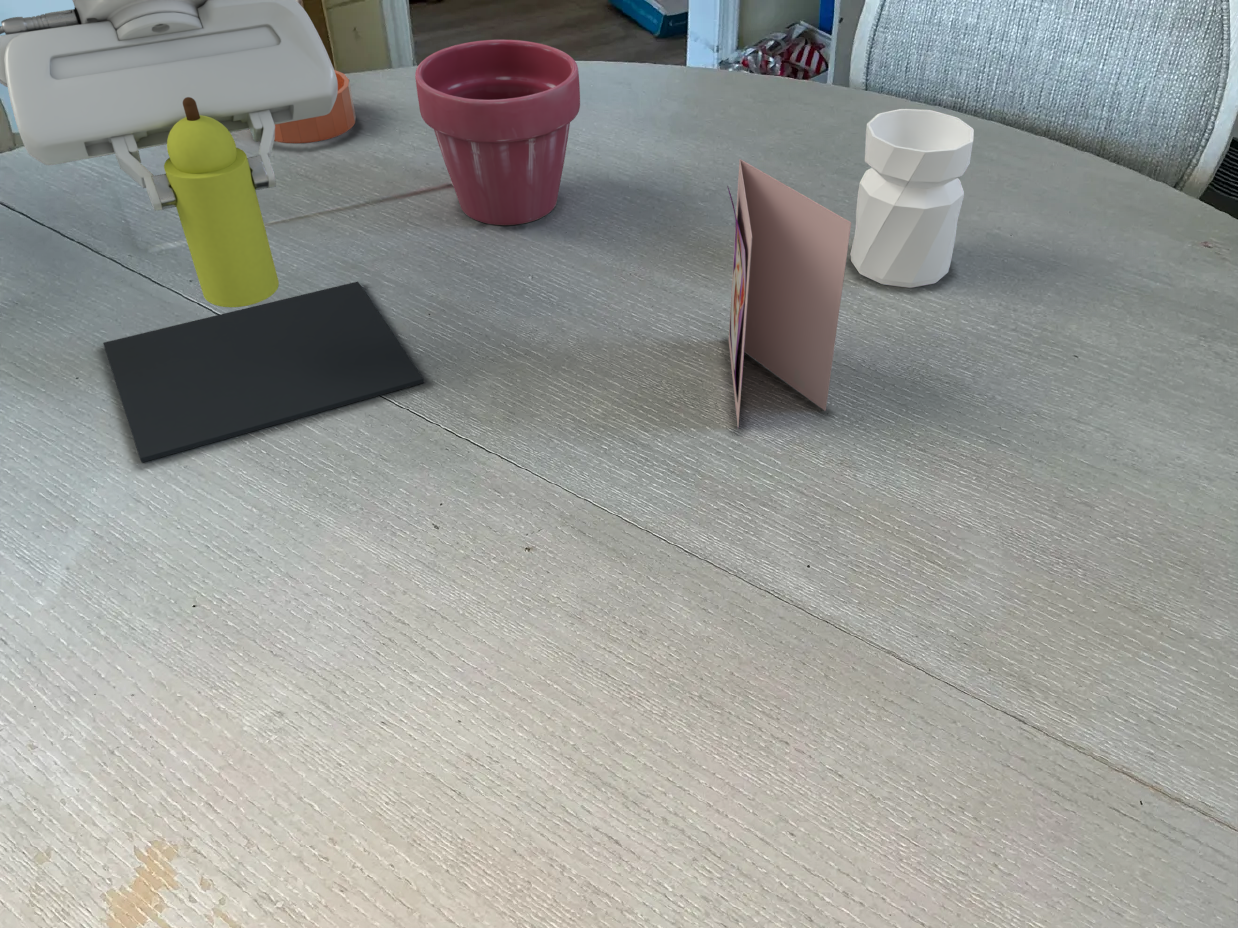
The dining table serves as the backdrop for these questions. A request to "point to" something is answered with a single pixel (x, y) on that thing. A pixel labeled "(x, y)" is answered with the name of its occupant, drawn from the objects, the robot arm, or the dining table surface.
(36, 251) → the dining table surface
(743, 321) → the greeting card
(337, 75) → the orange round bowl
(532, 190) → the flower pot
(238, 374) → the mat
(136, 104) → the robot arm
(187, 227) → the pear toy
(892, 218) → the vase
